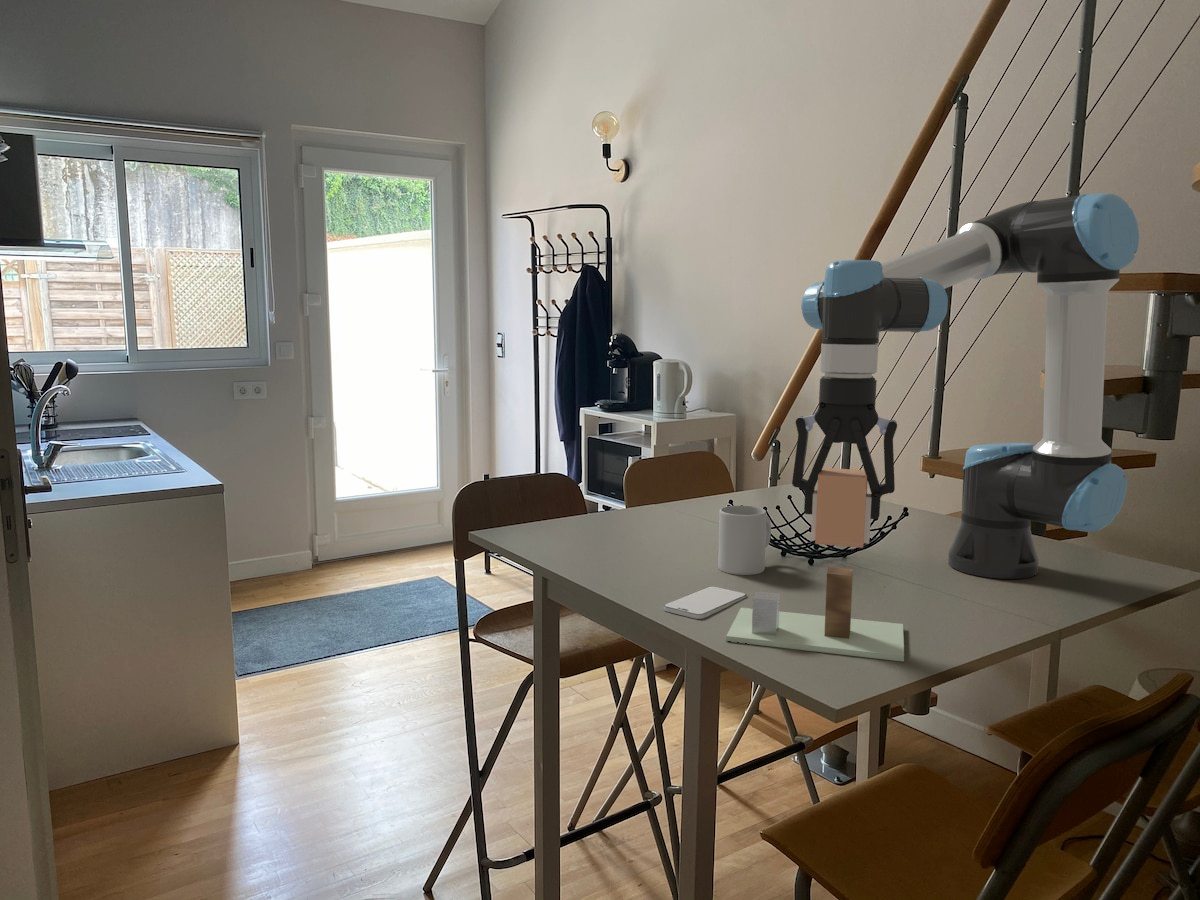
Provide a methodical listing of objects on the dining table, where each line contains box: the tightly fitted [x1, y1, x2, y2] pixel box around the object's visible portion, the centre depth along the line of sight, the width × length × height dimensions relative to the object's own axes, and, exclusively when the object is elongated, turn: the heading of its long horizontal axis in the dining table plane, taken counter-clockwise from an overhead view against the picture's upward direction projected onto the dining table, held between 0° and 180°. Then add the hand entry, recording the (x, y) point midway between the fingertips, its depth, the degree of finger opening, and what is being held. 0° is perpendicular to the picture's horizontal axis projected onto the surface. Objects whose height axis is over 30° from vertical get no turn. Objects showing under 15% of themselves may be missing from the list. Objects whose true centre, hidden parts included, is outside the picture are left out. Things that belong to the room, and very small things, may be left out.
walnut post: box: [824, 566, 854, 639], centre depth 126 cm, size 3×3×10 cm
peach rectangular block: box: [814, 467, 868, 549], centre depth 124 cm, size 6×6×10 cm
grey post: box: [752, 591, 781, 636], centre depth 128 cm, size 3×3×6 cm
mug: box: [717, 505, 772, 576], centre depth 162 cm, size 12×8×11 cm
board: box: [725, 607, 905, 662], centre depth 128 cm, size 24×13×1 cm, turn 72°
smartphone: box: [663, 586, 747, 620], centre depth 143 cm, size 7×1×15 cm
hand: (840, 538), depth 124 cm, fingers closed on peach rectangular block, 6 cm apart
